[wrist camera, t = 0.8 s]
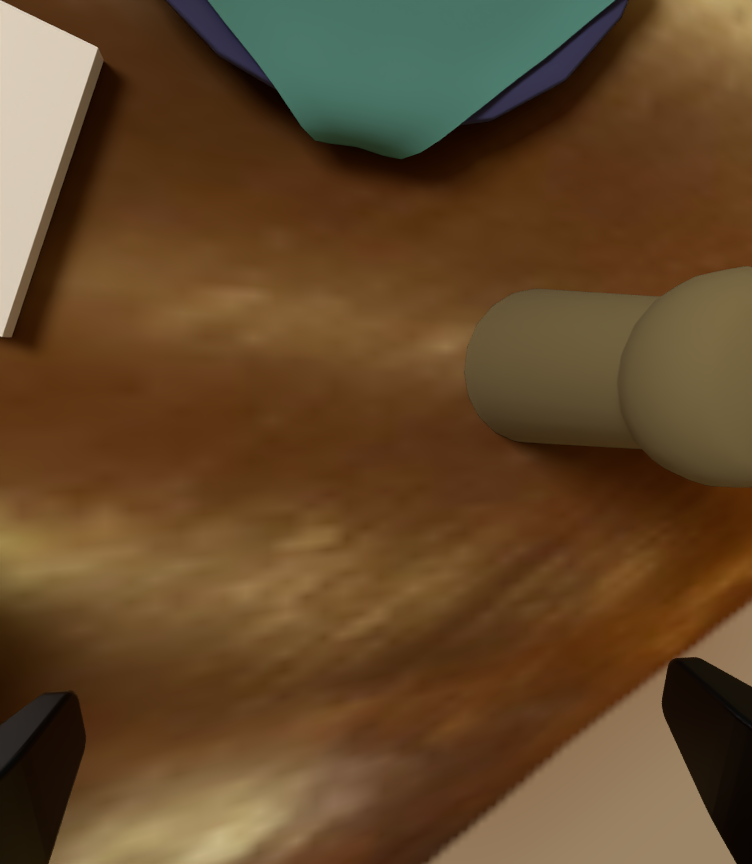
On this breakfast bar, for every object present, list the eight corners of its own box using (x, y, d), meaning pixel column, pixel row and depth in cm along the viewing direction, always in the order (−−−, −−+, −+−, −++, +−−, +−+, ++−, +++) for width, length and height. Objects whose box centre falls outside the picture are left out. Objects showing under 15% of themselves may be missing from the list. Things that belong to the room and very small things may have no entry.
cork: (620, 313, 23) (943, 283, 13) (579, 457, 24) (857, 544, 13) (488, 268, 22) (731, 193, 11) (446, 424, 22) (642, 493, 12)
